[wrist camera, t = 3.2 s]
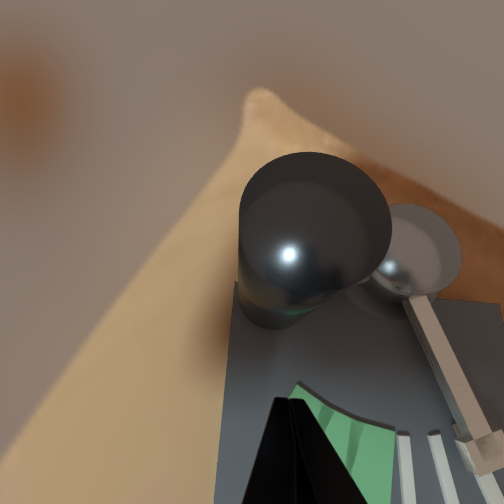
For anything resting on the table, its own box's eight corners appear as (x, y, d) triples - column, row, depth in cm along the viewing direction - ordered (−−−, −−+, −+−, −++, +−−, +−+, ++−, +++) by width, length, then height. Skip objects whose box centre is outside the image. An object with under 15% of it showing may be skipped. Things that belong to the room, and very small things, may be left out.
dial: (407, 217, 17) (561, 87, 9) (522, 444, 13) (973, 577, 5) (227, 261, 15) (218, 154, 7) (300, 532, 12) (441, 913, 4)
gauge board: (542, 594, 12) (573, 618, 11) (207, 572, 12) (204, 594, 11) (468, 230, 18) (484, 222, 17) (242, 210, 18) (242, 200, 17)
